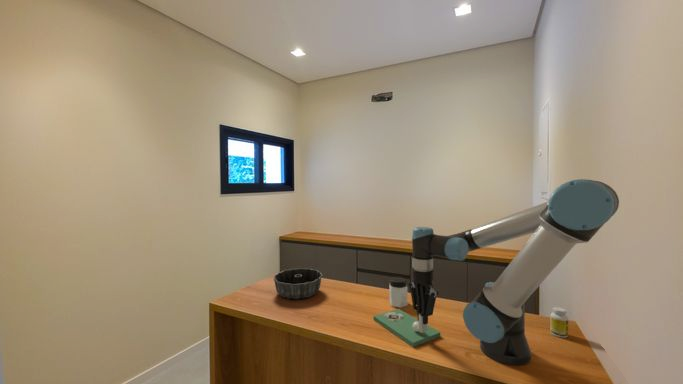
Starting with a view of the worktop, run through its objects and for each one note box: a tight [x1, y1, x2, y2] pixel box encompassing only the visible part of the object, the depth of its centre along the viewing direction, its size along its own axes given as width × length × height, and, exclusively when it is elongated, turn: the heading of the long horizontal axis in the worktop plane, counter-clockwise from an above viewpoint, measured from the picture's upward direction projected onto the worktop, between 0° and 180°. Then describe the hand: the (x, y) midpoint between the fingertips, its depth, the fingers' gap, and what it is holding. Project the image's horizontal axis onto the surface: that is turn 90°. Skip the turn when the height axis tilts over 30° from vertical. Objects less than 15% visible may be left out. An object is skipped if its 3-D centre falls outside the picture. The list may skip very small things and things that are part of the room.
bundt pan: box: [273, 267, 323, 300], centre depth 152 cm, size 26×26×10 cm
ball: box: [413, 322, 419, 332], centre depth 107 cm, size 4×4×4 cm
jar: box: [388, 276, 409, 309], centre depth 136 cm, size 9×8×12 cm
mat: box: [373, 308, 441, 348], centre depth 113 cm, size 24×14×2 cm, turn 29°
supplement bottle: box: [549, 306, 569, 339], centre depth 106 cm, size 5×5×10 cm
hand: (422, 331), depth 104 cm, fingers closed
